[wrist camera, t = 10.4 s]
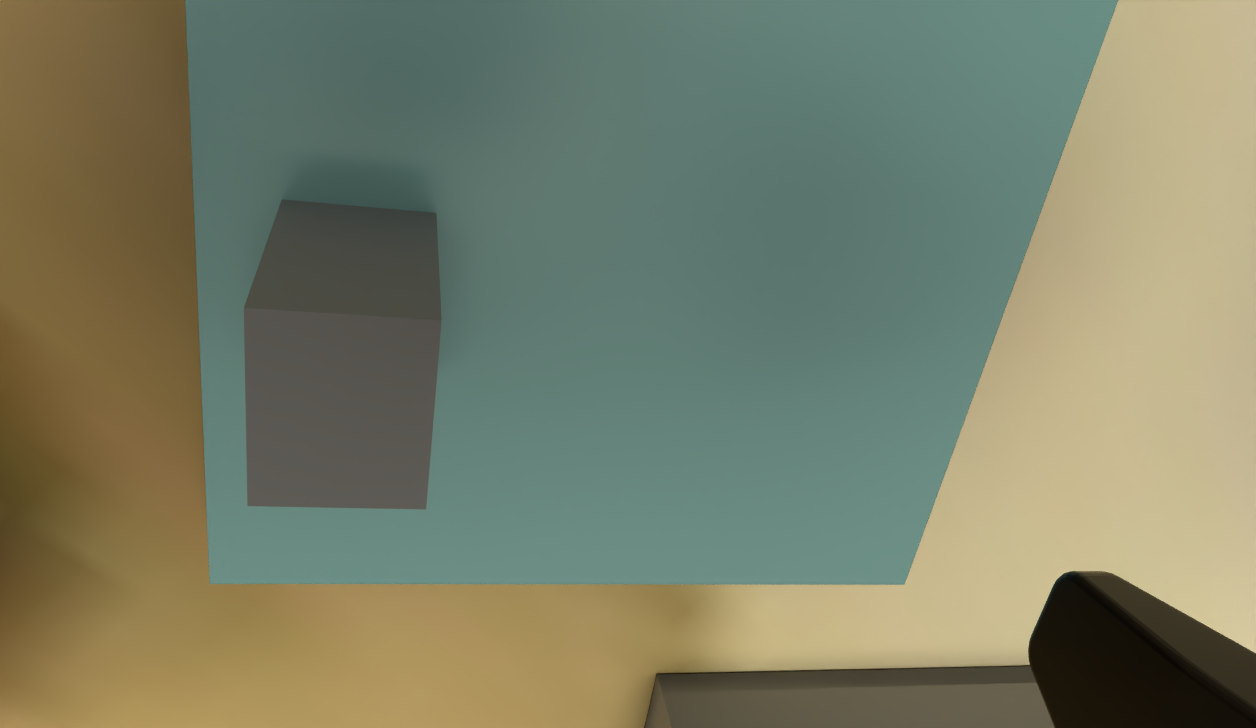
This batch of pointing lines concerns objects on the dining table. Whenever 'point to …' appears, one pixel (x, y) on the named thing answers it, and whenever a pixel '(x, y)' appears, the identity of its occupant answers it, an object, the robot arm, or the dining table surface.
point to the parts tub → (851, 699)
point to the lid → (606, 277)
